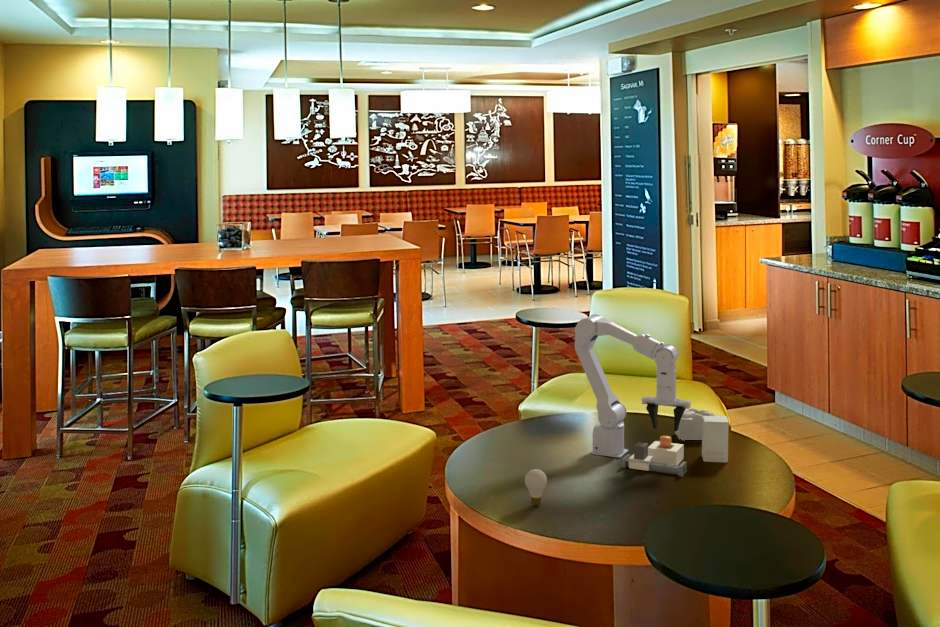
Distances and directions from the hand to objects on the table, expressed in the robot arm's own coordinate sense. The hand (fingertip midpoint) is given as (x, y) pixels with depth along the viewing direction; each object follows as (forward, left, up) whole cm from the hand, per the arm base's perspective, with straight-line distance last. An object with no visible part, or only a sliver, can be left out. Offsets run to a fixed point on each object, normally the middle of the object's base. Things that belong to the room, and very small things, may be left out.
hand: (665, 429), depth 266 cm
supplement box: (+13, +8, -10) cm, 18 cm away
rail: (-1, -10, -10) cm, 14 cm away
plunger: (0, 0, -8) cm, 8 cm away
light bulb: (-20, -51, -10) cm, 56 cm away
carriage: (-5, -10, -10) cm, 15 cm away
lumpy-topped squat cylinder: (+2, +29, -10) cm, 31 cm away
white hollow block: (0, 0, -10) cm, 10 cm away
